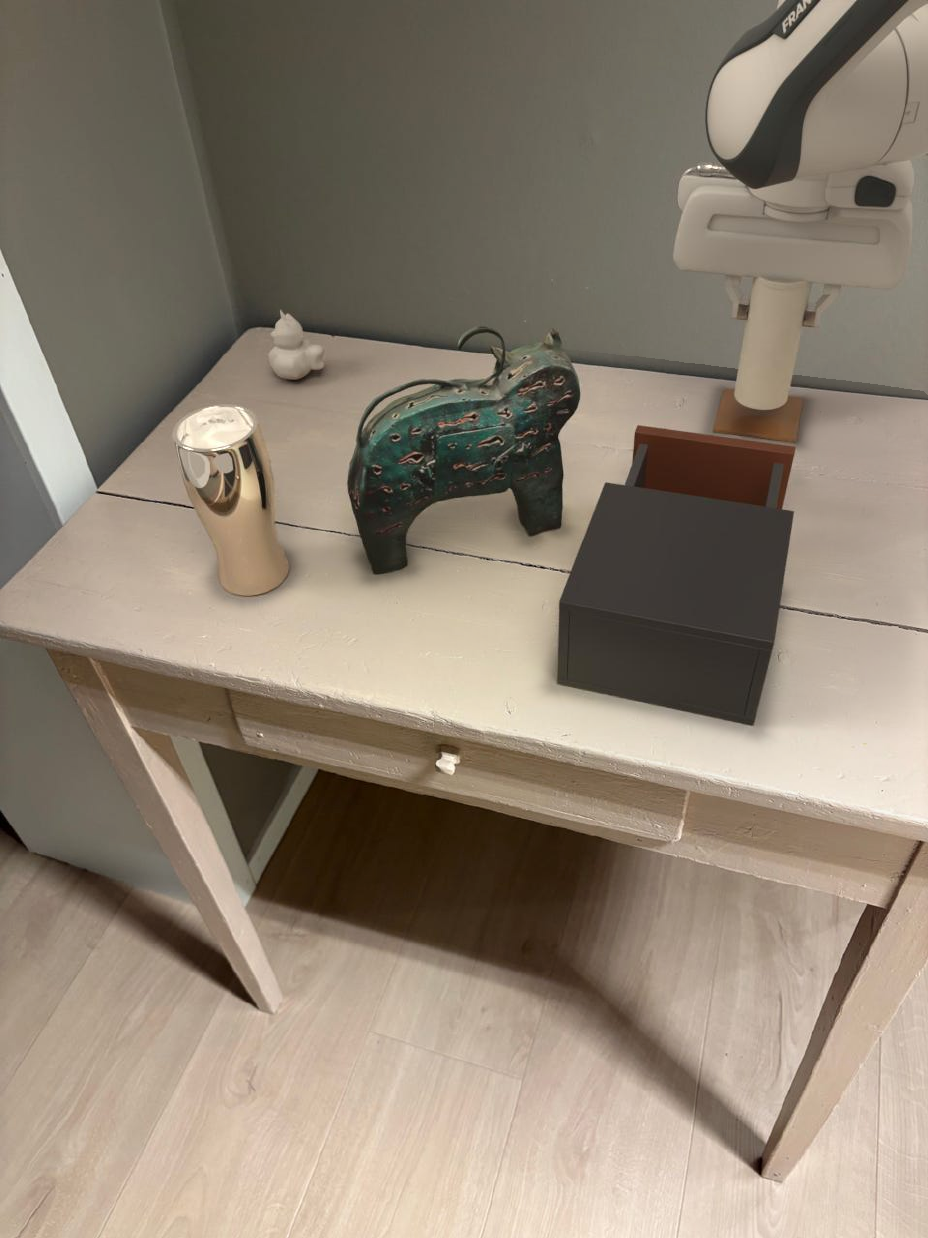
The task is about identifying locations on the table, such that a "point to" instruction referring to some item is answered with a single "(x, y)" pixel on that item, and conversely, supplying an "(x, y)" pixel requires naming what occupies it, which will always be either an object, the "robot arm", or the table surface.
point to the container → (771, 342)
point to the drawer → (711, 466)
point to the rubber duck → (293, 350)
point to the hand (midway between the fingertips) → (775, 320)
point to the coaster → (758, 419)
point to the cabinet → (675, 601)
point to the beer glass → (233, 494)
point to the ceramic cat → (465, 446)
